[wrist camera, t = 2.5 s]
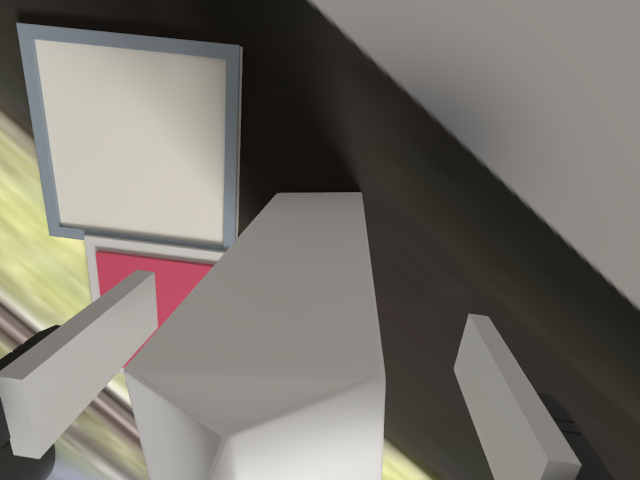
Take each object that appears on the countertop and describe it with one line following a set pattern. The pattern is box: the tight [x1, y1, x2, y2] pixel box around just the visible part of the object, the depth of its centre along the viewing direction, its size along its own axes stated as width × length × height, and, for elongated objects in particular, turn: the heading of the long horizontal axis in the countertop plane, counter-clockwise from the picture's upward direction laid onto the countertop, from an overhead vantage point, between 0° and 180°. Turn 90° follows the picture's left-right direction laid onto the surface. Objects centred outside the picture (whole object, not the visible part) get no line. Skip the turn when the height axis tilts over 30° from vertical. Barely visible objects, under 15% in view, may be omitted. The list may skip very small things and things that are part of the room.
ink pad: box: [84, 234, 226, 374], centre depth 29 cm, size 12×12×2 cm
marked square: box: [16, 23, 243, 251], centre depth 25 cm, size 14×14×1 cm
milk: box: [124, 192, 385, 480], centre depth 16 cm, size 6×6×22 cm
